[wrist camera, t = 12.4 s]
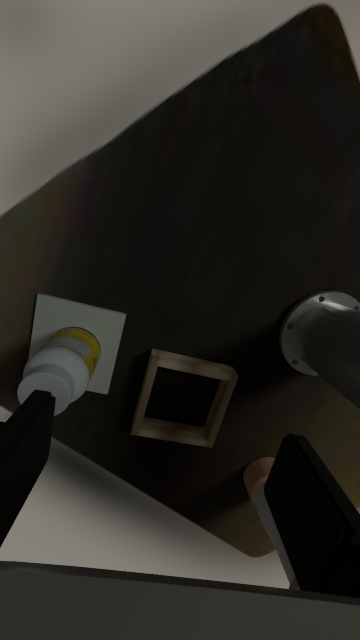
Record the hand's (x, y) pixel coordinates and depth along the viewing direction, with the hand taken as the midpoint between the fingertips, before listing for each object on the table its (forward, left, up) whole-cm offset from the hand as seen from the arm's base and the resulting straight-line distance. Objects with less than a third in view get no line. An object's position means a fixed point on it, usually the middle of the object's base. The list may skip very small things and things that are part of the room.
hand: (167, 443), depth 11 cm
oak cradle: (-7, +13, -26) cm, 30 cm away
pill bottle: (+9, +9, -26) cm, 29 cm away
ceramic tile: (+9, +9, -26) cm, 29 cm away
